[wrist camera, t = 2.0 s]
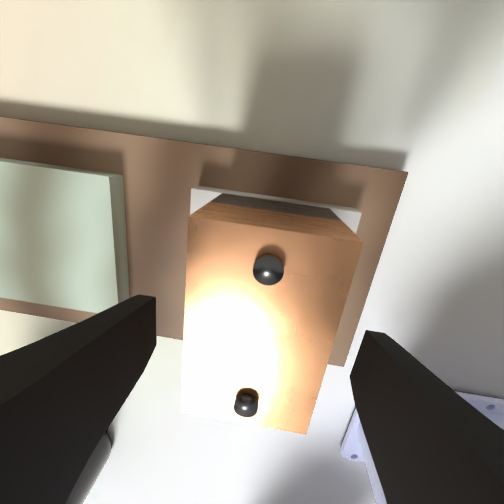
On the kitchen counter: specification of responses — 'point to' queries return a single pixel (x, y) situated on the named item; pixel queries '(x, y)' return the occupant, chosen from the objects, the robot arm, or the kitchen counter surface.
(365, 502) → the kitchen counter surface
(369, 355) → the robot arm
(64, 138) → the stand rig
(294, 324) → the plate
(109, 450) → the supplement bottle
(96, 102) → the kitchen counter surface
